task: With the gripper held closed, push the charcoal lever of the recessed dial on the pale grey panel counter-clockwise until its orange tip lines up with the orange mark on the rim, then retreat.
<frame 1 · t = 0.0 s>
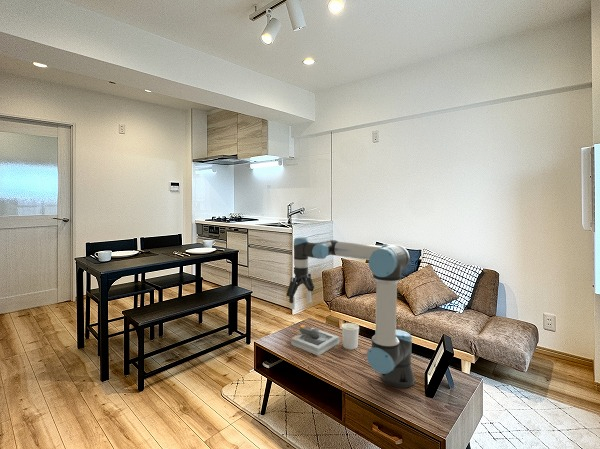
hand: (300, 305, 171), 28 cm above the table, fingers open, 13 cm apart
dial panel: (315, 344, 187), on the table
candle holder: (350, 346, 184), on the table
dial: (312, 334, 188), point 5 cm above the table, hinge at 0.0°
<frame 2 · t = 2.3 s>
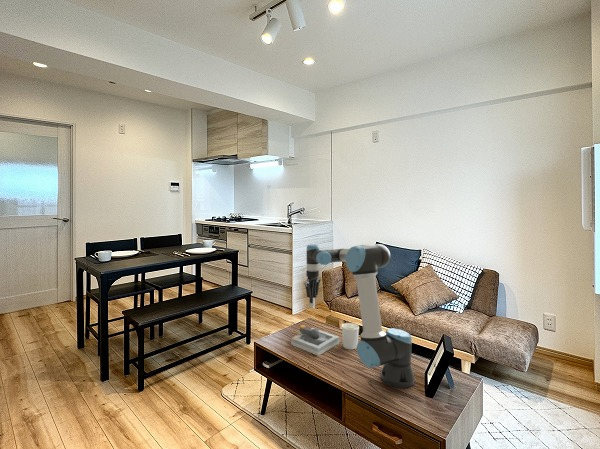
hand: (312, 307, 196), 18 cm above the table, fingers closed
nothing on the table moved.
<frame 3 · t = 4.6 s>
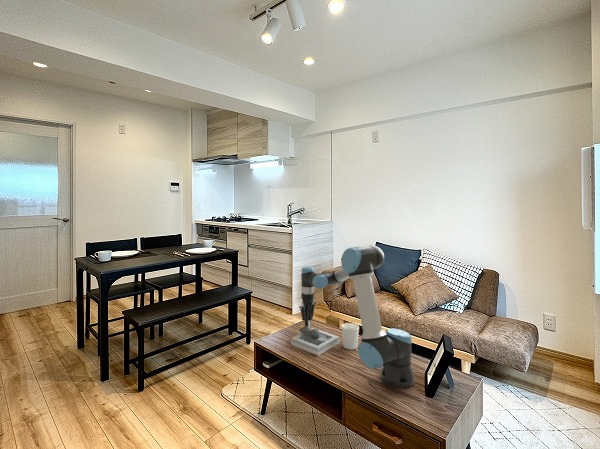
hand: (307, 330, 193), 5 cm above the table, fingers closed
dial: (312, 334, 188), point 5 cm above the table, hinge at 0.4°, touching gripper
everything else where it was.
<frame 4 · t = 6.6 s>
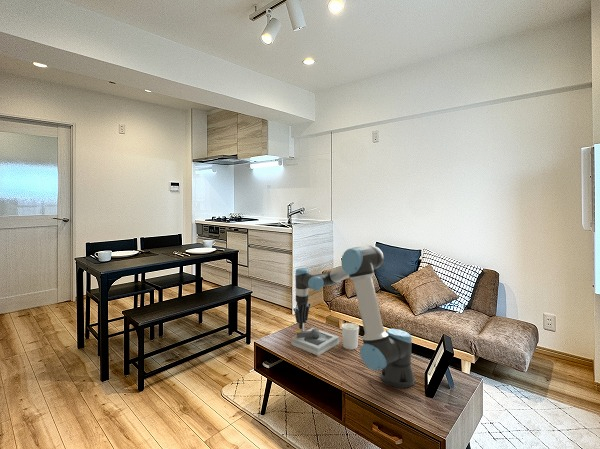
hand: (302, 333, 189), 5 cm above the table, fingers closed
dial: (311, 335, 187), point 5 cm above the table, hinge at 43.0°, touching gripper
everything else where it was.
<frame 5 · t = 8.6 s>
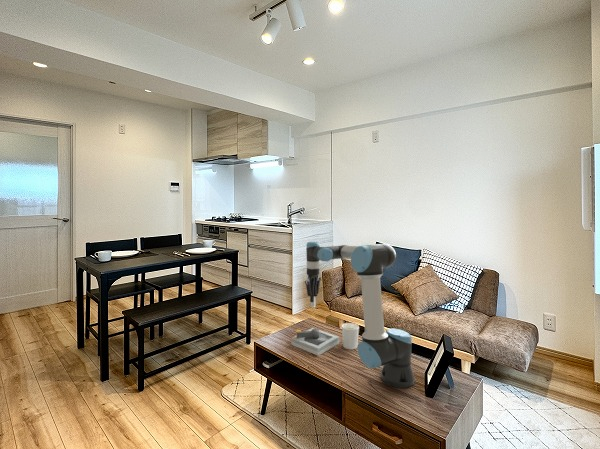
hand: (313, 306, 190), 21 cm above the table, fingers closed
dial: (311, 335, 187), point 5 cm above the table, hinge at 43.1°
everything else where it was.
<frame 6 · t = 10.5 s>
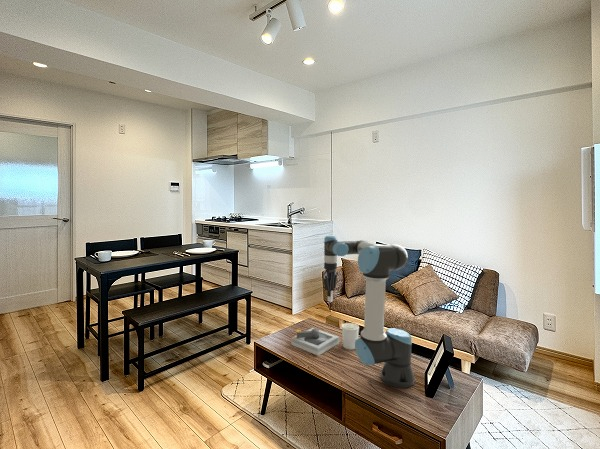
hand: (330, 301, 189), 24 cm above the table, fingers closed
nothing on the table moved.
at the end: dial at +43° (first picture: +0°) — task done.
